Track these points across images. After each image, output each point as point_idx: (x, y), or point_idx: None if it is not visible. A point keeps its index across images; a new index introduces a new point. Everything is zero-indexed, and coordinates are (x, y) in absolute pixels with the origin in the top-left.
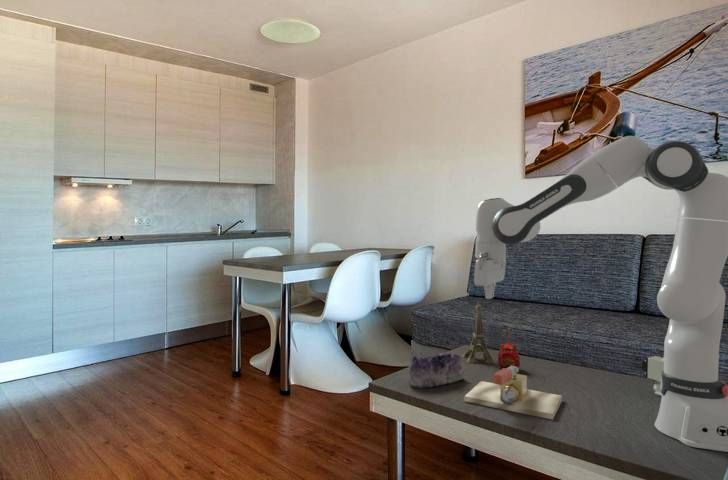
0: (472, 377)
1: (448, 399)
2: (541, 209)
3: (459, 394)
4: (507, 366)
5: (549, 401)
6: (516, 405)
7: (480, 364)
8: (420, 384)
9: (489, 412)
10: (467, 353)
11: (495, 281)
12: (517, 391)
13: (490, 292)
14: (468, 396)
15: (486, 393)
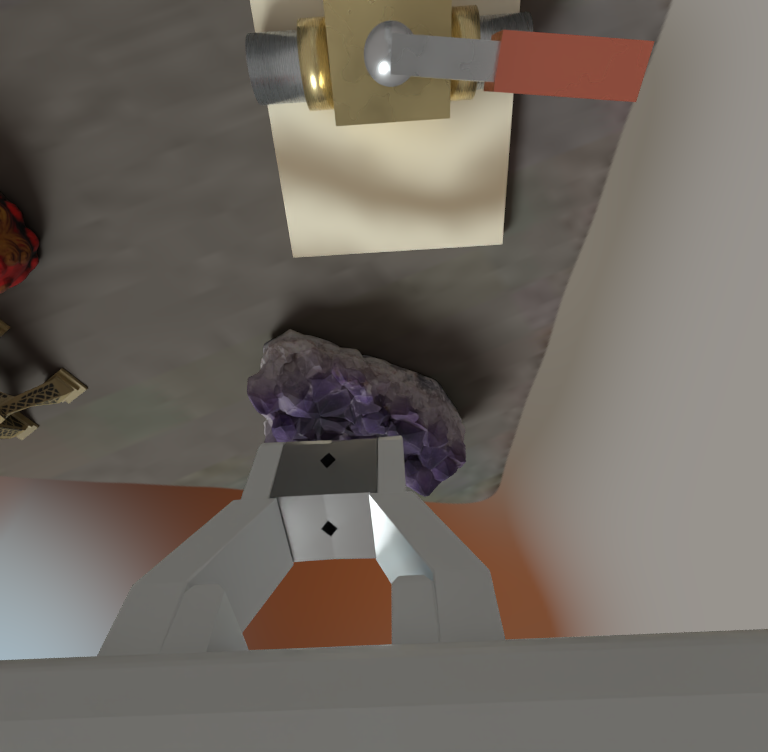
0: (228, 313)
1: (506, 291)
2: None
3: (437, 280)
4: (18, 230)
5: None
6: (506, 2)
7: (53, 347)
8: (451, 407)
9: (566, 111)
10: (12, 424)
11: (306, 685)
12: (461, 10)
13: (417, 505)
14: (497, 230)
15: (426, 182)
